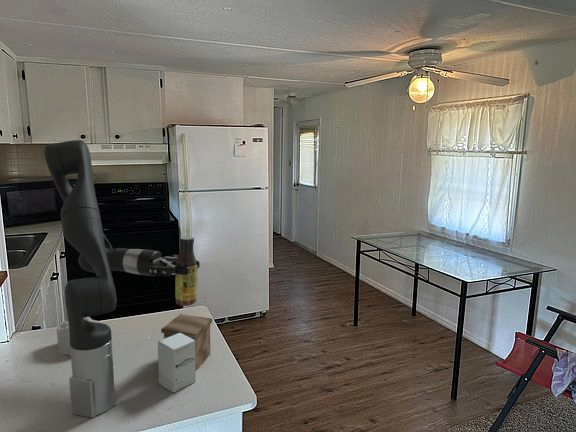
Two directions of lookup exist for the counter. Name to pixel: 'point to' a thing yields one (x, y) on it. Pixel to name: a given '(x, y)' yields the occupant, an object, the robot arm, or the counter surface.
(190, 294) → the sauce bottle
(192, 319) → the brown wooden box
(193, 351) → the supplement box
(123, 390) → the counter surface
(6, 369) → the counter surface
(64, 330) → the lumpy-topped squat cylinder
